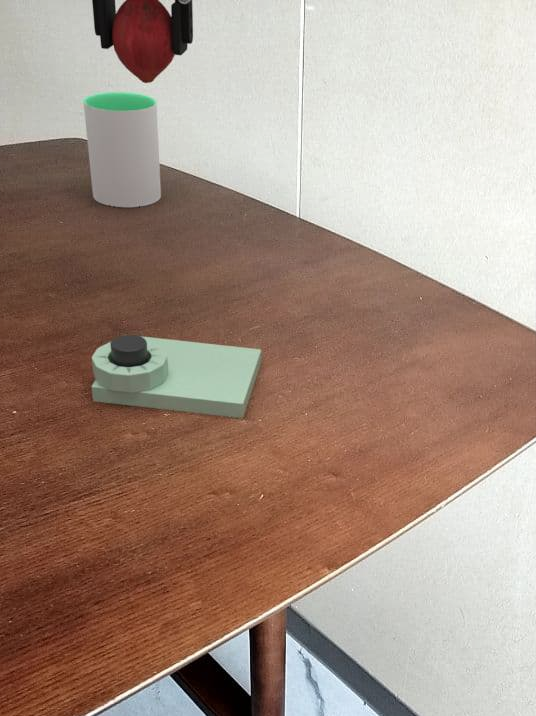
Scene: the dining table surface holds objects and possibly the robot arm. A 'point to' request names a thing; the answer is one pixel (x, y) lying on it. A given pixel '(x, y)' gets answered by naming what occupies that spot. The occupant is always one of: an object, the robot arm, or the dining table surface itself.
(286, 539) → the dining table surface
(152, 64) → the onion
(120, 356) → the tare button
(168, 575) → the dining table surface
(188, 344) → the green dial panel
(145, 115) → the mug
